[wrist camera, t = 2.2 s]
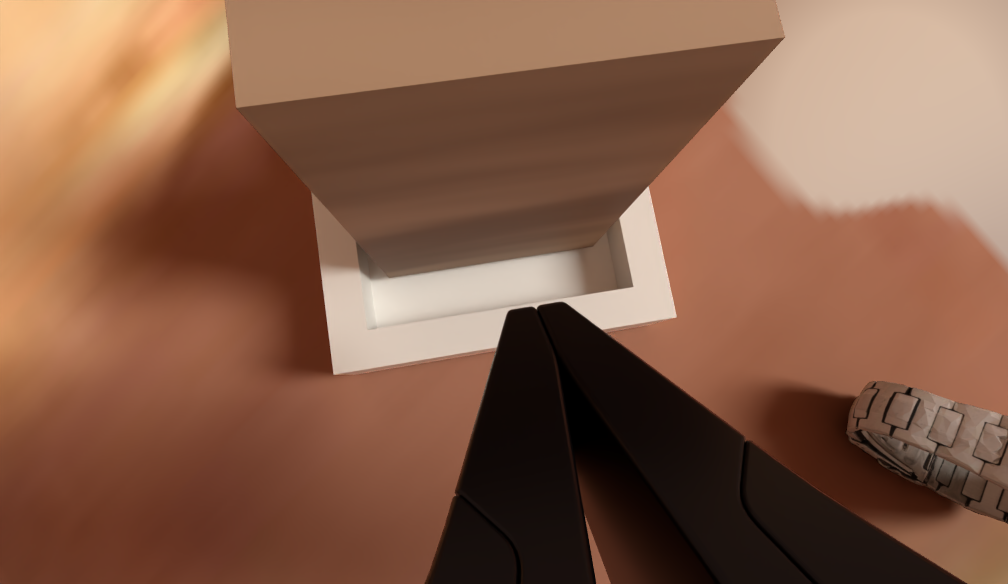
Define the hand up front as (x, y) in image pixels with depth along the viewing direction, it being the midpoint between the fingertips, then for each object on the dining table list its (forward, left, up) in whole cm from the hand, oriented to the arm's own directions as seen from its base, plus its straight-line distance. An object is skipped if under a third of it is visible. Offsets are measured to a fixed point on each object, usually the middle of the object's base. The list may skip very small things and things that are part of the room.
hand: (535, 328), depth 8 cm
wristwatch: (-4, -12, -9) cm, 16 cm away
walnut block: (+5, 0, -7) cm, 9 cm away
